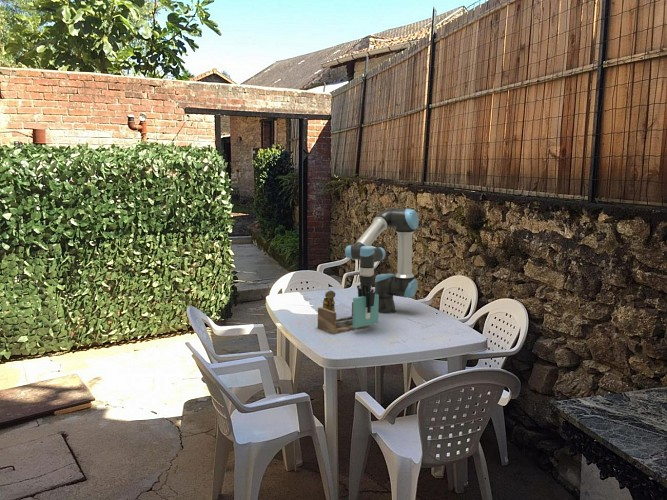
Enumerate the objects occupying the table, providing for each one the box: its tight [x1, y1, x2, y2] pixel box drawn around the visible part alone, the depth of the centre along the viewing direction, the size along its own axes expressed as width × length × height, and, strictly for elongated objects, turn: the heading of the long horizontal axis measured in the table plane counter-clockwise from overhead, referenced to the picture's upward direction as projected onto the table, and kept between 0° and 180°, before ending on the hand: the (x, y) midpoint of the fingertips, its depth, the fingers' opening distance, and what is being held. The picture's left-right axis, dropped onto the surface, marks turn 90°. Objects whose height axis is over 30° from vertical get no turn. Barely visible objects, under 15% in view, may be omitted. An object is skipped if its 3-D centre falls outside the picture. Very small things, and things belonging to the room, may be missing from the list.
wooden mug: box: [322, 290, 336, 312], centre depth 315 cm, size 9×14×18 cm, turn 7°
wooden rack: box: [317, 301, 371, 335], centre depth 296 cm, size 26×14×12 cm, turn 127°
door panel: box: [352, 294, 379, 328], centre depth 289 cm, size 16×2×16 cm, turn 127°
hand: (365, 317), depth 290 cm, fingers closed on door panel, 2 cm apart
